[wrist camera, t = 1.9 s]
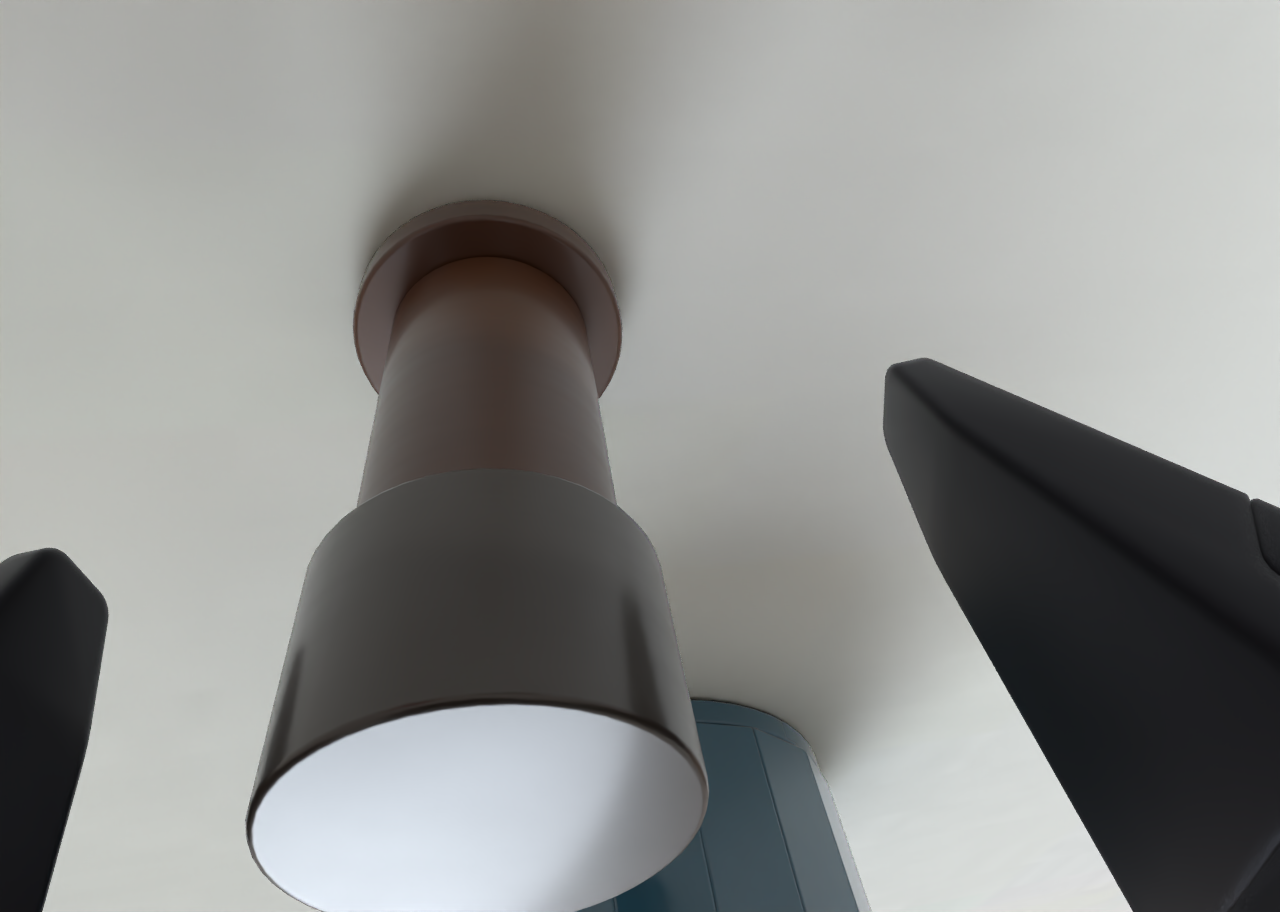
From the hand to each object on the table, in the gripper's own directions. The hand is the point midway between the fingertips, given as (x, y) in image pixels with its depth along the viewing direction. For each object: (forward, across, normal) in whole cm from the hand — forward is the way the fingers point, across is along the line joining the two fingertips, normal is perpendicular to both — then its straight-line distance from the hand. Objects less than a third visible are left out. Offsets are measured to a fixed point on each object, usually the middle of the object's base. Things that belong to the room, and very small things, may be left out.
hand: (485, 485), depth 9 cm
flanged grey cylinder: (+4, 0, 0) cm, 4 cm away
